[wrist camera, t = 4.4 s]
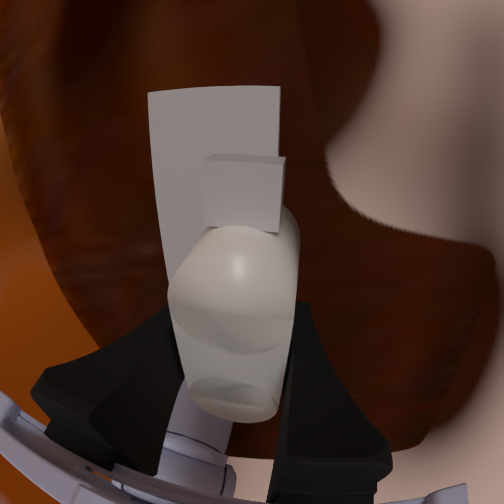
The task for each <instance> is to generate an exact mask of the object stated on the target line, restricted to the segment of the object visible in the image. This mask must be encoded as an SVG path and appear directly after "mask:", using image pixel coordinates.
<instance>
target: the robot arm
mask: <svg viewBox="0 0 504 504" xmlns="http://www.w3.org/2000/svg"><path fill="white" fill-rule="evenodd" d="M30 393H31V397H32V398H33V400H34V401H35V402H36V404H37V405H38V406H39V407H40V408H41V409H42V410H43V411H44V412H45V414H47V416H48V417H49V418H50V419H51V421H50V422H49V424H48V426H47V427H46V426H44V425H43V424H41V423H40V422H38V421H37V420H35V419H33V418H32V417H31V416H29V415H28V414H26V413H25V412H23V411H22V410H21V409H20V407H19V406H18V405H17V404H16V403H15V402H14V401H13V400H12V399H11V398H9V397H8V396H7V395H6V394H4V393H3V392H2V391H0V453H1V454H2V455H3V456H4V457H5V458H6V459H7V460H8V461H9V462H10V463H11V464H12V465H14V466H15V467H16V468H17V469H18V470H19V471H20V472H21V473H23V474H24V475H25V476H26V477H27V478H28V479H30V480H31V481H32V482H33V483H35V484H36V485H37V486H38V487H40V488H41V489H42V490H44V491H45V492H46V493H48V494H49V495H51V496H52V497H53V498H54V499H56V500H57V501H59V502H60V503H62V504H374V494H375V493H376V492H377V482H379V481H380V480H382V479H383V478H385V477H386V476H387V475H388V474H389V473H390V472H391V471H392V469H393V461H392V454H391V450H390V446H389V442H388V440H387V439H386V438H385V437H384V436H383V435H382V434H381V433H380V432H379V431H378V430H377V429H376V428H375V426H374V425H373V424H372V423H371V422H370V421H369V420H368V418H367V417H366V416H365V415H364V414H363V412H362V411H361V410H360V408H359V407H358V406H357V404H356V403H355V402H354V400H353V399H352V397H351V396H350V395H349V393H348V392H347V390H346V389H345V387H344V386H343V384H342V382H341V381H340V379H339V377H338V376H337V374H336V372H335V370H334V368H333V366H332V364H331V363H330V360H329V358H328V356H327V354H326V352H325V350H324V347H323V345H322V343H321V340H320V337H319V335H318V332H317V330H316V327H315V323H314V320H313V317H312V313H311V308H310V304H309V303H308V302H299V301H295V312H294V322H293V328H292V335H291V341H290V346H289V352H288V358H287V364H286V369H285V375H284V380H283V404H282V415H281V422H280V428H279V435H278V441H277V447H276V453H275V458H274V464H273V470H272V475H271V480H270V485H269V490H268V495H267V500H266V503H263V502H255V501H248V500H242V499H236V498H233V496H234V492H235V487H236V473H235V471H234V470H233V467H232V466H231V465H228V464H226V462H227V458H228V456H227V455H224V453H225V450H226V448H227V445H228V441H229V437H230V433H231V429H232V425H233V421H229V420H225V419H222V418H219V417H216V416H214V415H212V414H209V413H208V412H206V411H204V410H203V409H201V408H200V407H199V406H198V405H197V404H196V403H195V402H194V401H193V400H192V398H191V396H190V394H189V390H188V386H187V383H186V379H185V375H184V371H183V367H182V363H181V359H180V355H179V350H178V346H177V342H176V337H175V333H174V328H173V324H172V319H171V314H170V309H169V304H167V305H165V306H164V307H163V308H162V309H160V310H159V311H158V312H157V313H156V314H154V315H153V316H152V317H151V318H149V319H148V320H147V321H145V322H144V323H142V324H141V325H140V326H138V327H137V328H136V329H134V330H133V331H131V332H130V333H128V334H126V335H125V336H123V337H122V338H120V339H118V340H116V341H115V342H113V343H111V344H109V345H107V346H105V347H103V348H101V349H99V350H97V351H95V352H93V353H91V354H88V355H86V356H83V357H81V358H78V359H76V360H73V361H70V362H67V363H63V364H60V365H56V366H53V367H49V368H46V369H45V370H44V372H43V373H42V375H41V376H40V378H39V379H38V380H37V382H36V383H35V385H34V386H33V388H32V389H31V391H30ZM92 470H93V471H96V472H97V473H99V474H101V475H104V476H106V477H108V478H110V479H112V483H111V482H109V481H107V480H105V479H104V478H102V477H100V476H98V475H96V474H94V473H93V471H92ZM381 504H468V494H467V484H466V483H463V484H459V485H455V486H451V487H447V488H444V489H440V490H437V491H435V492H432V493H430V494H429V495H427V496H426V497H421V498H415V499H411V500H404V501H397V502H389V503H381Z"/></svg>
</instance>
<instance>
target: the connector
mask: <svg viewBox="0 0 504 504" xmlns="http://www.w3.org/2000/svg"><path fill="white" fill-rule="evenodd" d="M285 159H286V157H276V156H261V155H244V154H218V153H213V154H211V155H210V156H209V157H207V158H206V159H204V160H203V189H204V211H205V226H207V228H206V229H205V231H204V232H203V233H202V235H201V236H200V238H199V239H198V241H197V242H196V244H195V245H194V246H193V248H192V249H191V251H190V252H189V254H188V255H187V257H186V258H185V260H184V261H183V263H182V264H181V266H180V267H179V269H178V270H177V272H176V273H175V275H174V276H173V278H172V279H171V282H170V284H169V288H168V304H169V309H170V314H171V319H172V324H173V328H174V333H175V337H176V342H177V346H178V350H179V355H180V359H181V363H182V367H183V371H184V375H185V379H186V383H187V386H188V390H189V394H190V396H191V398H192V400H193V401H194V402H195V403H196V404H197V405H198V406H199V407H200V408H201V409H203V410H204V411H206V412H208V413H209V414H212V415H214V416H216V417H219V418H222V419H225V420H229V421H233V422H240V423H256V422H262V421H265V420H268V419H270V418H272V417H273V416H274V415H275V414H276V413H277V410H278V406H279V401H280V396H281V391H282V386H283V380H284V375H285V369H286V364H287V358H288V352H289V346H290V341H291V335H292V328H293V322H294V312H295V301H296V289H297V277H298V263H299V249H300V231H299V228H298V225H297V222H296V220H295V218H294V217H293V215H292V214H291V213H290V211H289V210H288V209H287V208H286V207H284V206H283V191H284V176H285Z"/></svg>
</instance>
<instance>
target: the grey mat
mask: <svg viewBox="0 0 504 504" xmlns="http://www.w3.org/2000/svg"><path fill="white" fill-rule="evenodd" d="M280 94H281V87H280V86H217V87H199V88H186V89H175V90H166V91H157V92H150V93H148V110H149V127H150V142H151V154H152V165H153V176H154V185H155V194H156V202H157V210H158V218H159V225H160V232H161V239H162V245H163V251H164V258H165V264H166V269H167V275H168V281H169V284H170V282H171V279H172V278H173V276H174V275H175V273H176V272H177V270H178V269H179V267H180V266H181V264H182V263H183V261H184V260H185V258H186V257H187V255H188V254H189V252H190V251H191V249H192V248H193V246H194V245H195V244H196V242H197V241H198V239H199V238H200V236H201V235H202V233H203V232H204V231H205V229H206V228H207V226H205V211H204V189H203V160H204V159H206V158H207V157H209V156H210V155H211V154H213V153H218V154H244V155H261V156H276V157H279V129H280Z"/></svg>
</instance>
